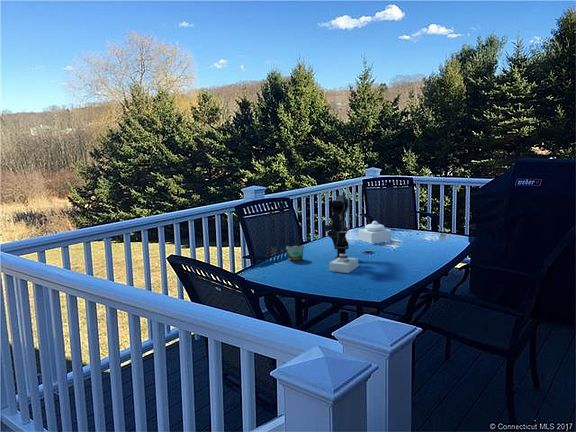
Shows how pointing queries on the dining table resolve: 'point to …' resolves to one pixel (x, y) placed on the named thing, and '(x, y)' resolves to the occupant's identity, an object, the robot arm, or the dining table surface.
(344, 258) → the steel lens
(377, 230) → the butter dish
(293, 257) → the food container
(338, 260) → the camera body
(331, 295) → the dining table surface
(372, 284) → the dining table surface
